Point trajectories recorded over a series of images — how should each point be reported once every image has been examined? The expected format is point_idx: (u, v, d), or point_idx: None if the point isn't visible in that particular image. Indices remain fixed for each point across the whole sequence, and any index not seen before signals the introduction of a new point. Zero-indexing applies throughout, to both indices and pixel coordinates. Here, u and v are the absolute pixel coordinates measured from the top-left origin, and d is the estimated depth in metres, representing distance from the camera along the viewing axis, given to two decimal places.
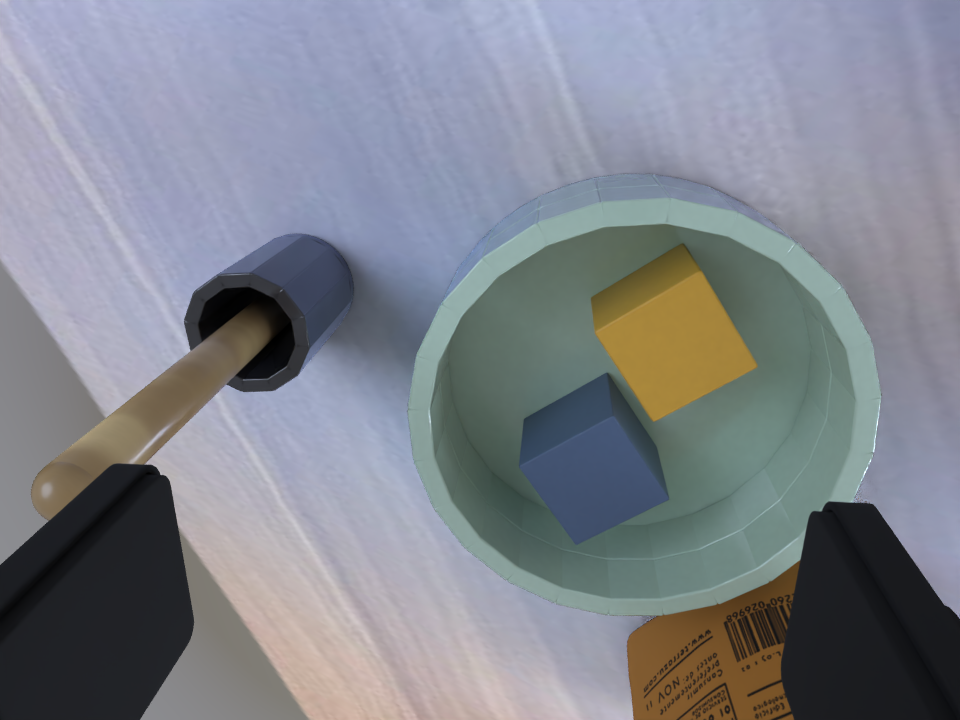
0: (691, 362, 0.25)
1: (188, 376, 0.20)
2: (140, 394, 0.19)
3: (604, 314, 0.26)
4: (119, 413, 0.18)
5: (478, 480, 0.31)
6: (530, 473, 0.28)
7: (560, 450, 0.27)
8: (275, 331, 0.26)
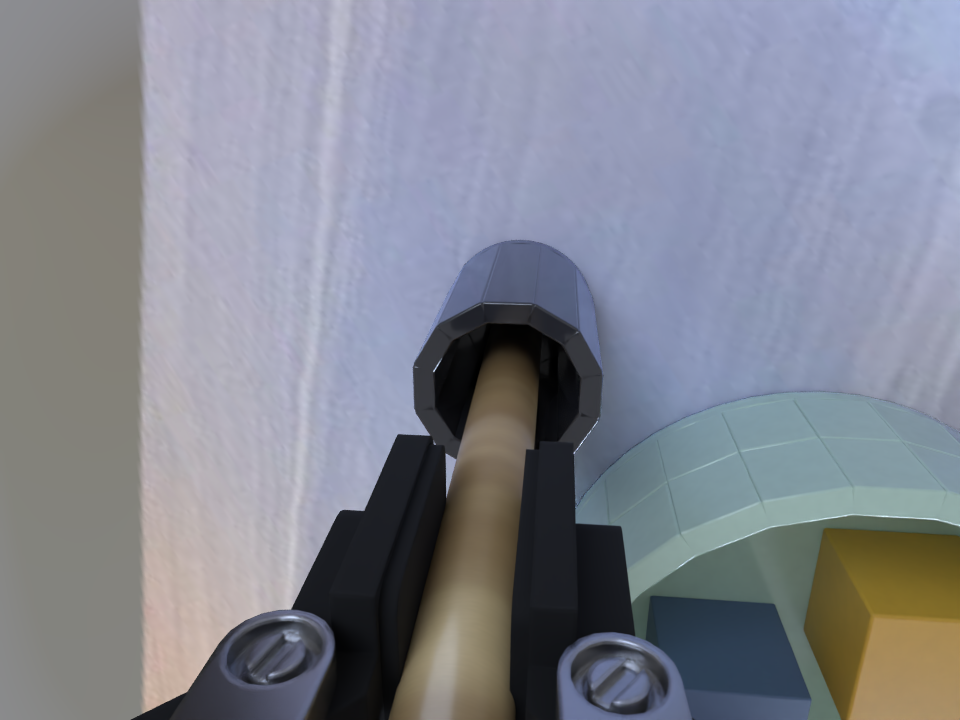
0: (937, 699, 0.20)
1: None
2: (495, 537, 0.11)
3: (873, 587, 0.21)
4: (493, 590, 0.10)
5: None
6: None
7: (725, 699, 0.21)
8: None
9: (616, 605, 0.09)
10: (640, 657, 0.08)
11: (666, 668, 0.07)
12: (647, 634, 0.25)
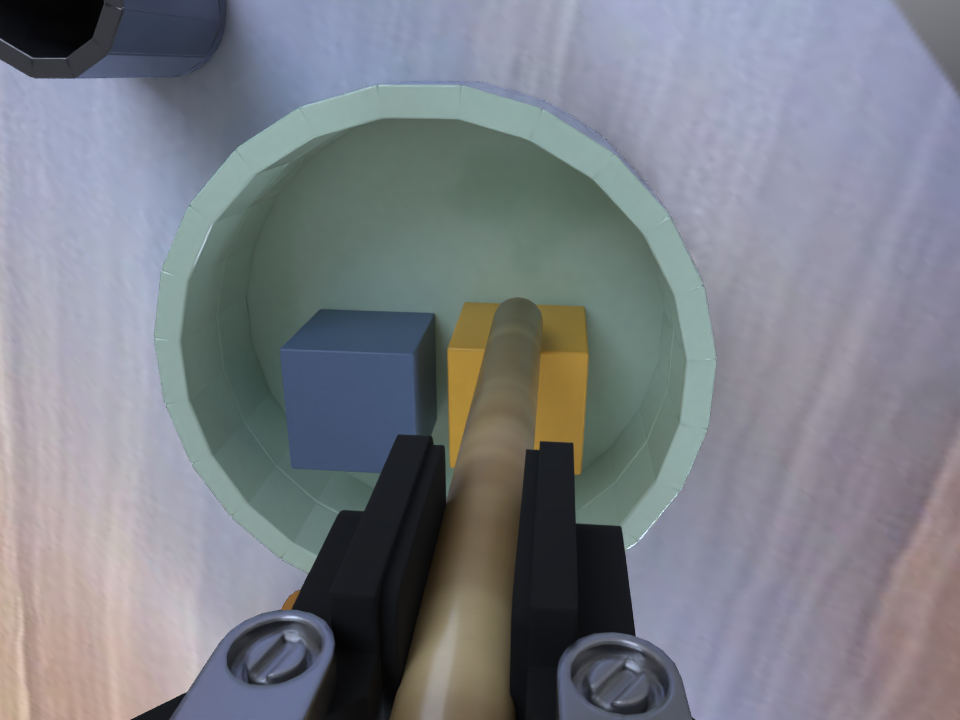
0: None
1: None
2: (495, 538, 0.11)
3: (467, 333, 0.22)
4: (493, 592, 0.10)
5: (229, 342, 0.25)
6: (288, 363, 0.22)
7: (335, 357, 0.22)
8: None
9: (616, 605, 0.09)
10: (640, 657, 0.08)
11: (666, 669, 0.07)
12: None
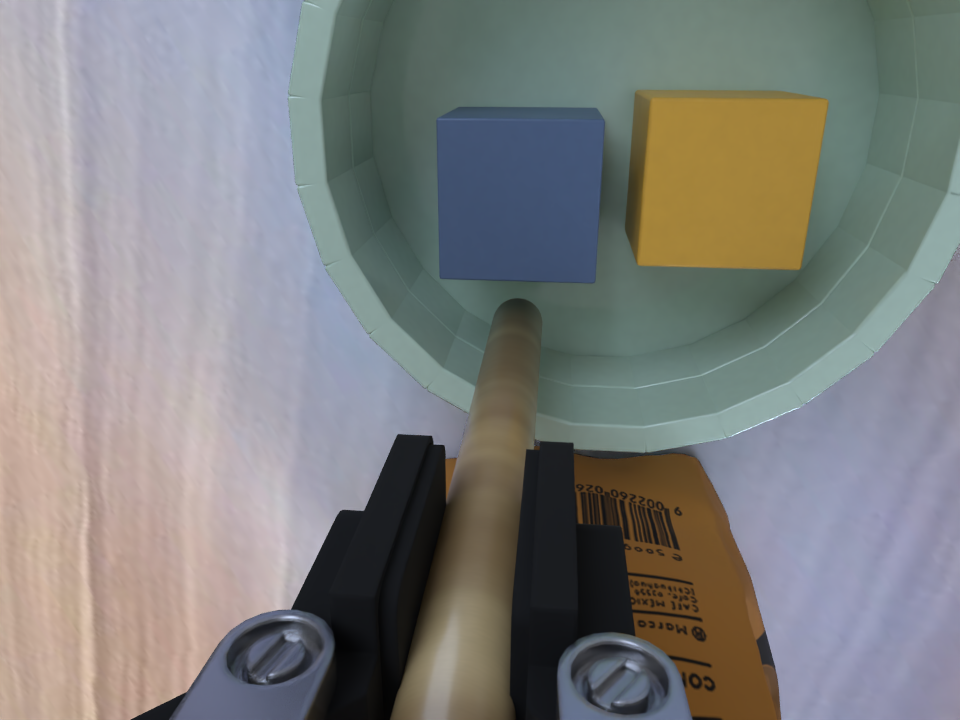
0: (733, 215, 0.18)
1: None
2: (495, 541, 0.11)
3: (665, 95, 0.18)
4: (493, 595, 0.10)
5: (357, 137, 0.21)
6: (446, 137, 0.18)
7: (506, 127, 0.18)
8: None
9: (616, 605, 0.09)
10: (640, 657, 0.08)
11: (666, 669, 0.07)
12: None
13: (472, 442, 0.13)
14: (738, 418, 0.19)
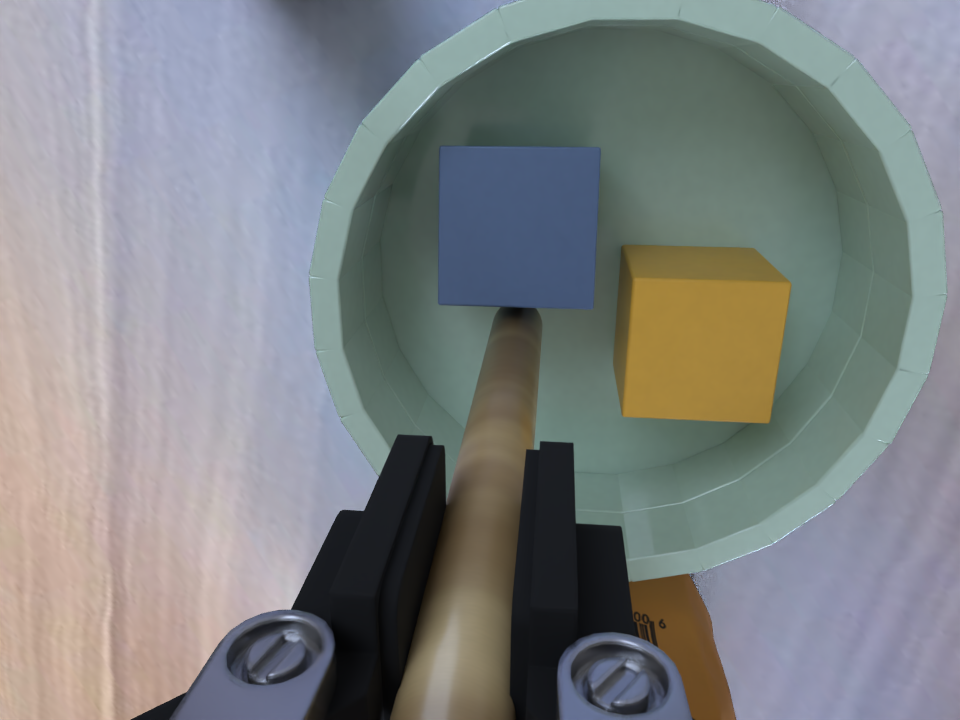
0: (708, 376, 0.20)
1: None
2: (495, 540, 0.11)
3: (646, 267, 0.20)
4: (493, 594, 0.10)
5: (369, 289, 0.23)
6: (448, 164, 0.19)
7: (505, 154, 0.19)
8: None
9: (616, 605, 0.09)
10: (640, 657, 0.08)
11: (666, 669, 0.07)
12: None
13: (472, 443, 0.14)
14: (714, 554, 0.21)
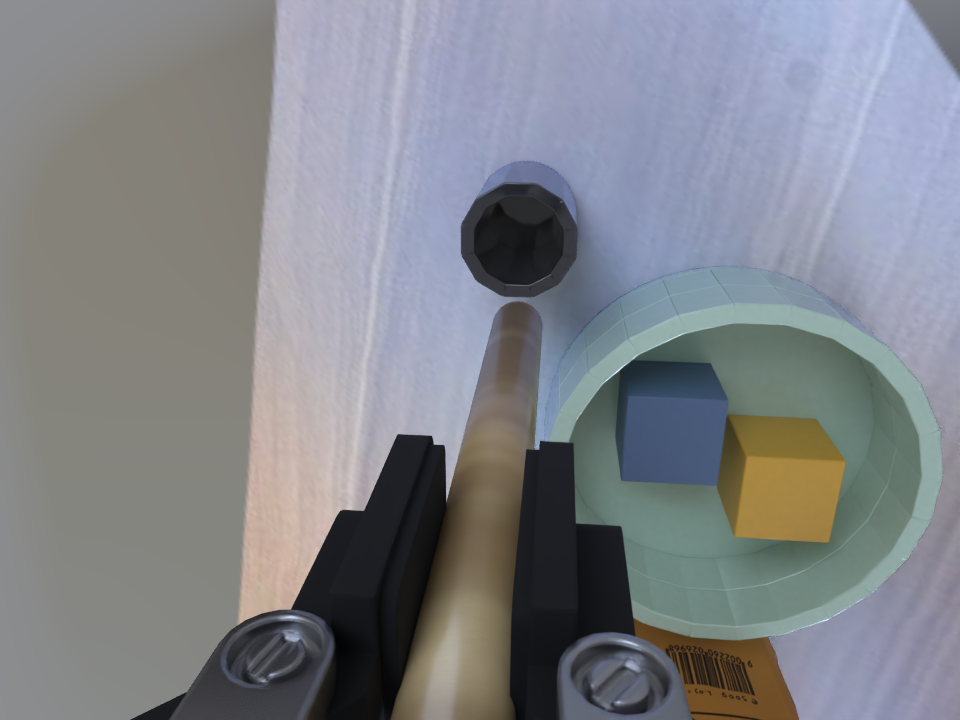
0: (791, 514, 0.32)
1: None
2: (495, 542, 0.11)
3: (751, 443, 0.32)
4: (493, 597, 0.10)
5: None
6: (633, 406, 0.31)
7: (669, 402, 0.31)
8: None
9: (616, 605, 0.09)
10: (640, 657, 0.08)
11: (666, 668, 0.07)
12: (619, 389, 0.35)
13: (472, 445, 0.14)
14: (792, 624, 0.33)
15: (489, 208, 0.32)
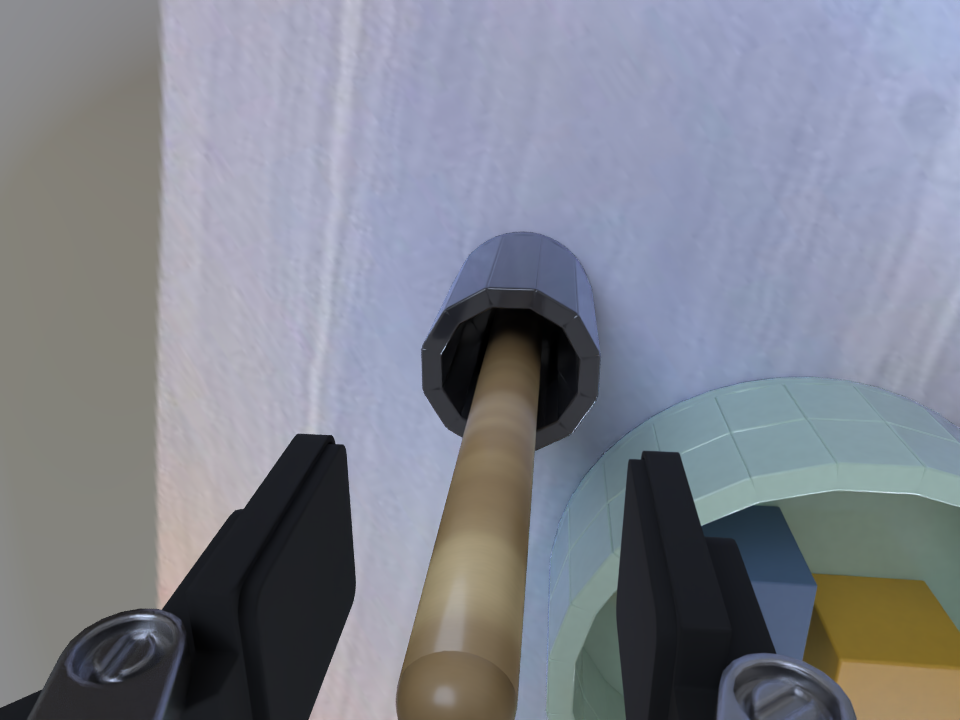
0: None
1: (530, 471, 0.13)
2: (501, 494, 0.12)
3: (843, 632, 0.23)
4: (500, 538, 0.11)
5: None
6: None
7: None
8: None
9: (749, 622, 0.09)
10: (812, 686, 0.07)
11: (839, 704, 0.07)
12: None
13: (479, 413, 0.14)
14: None
15: None
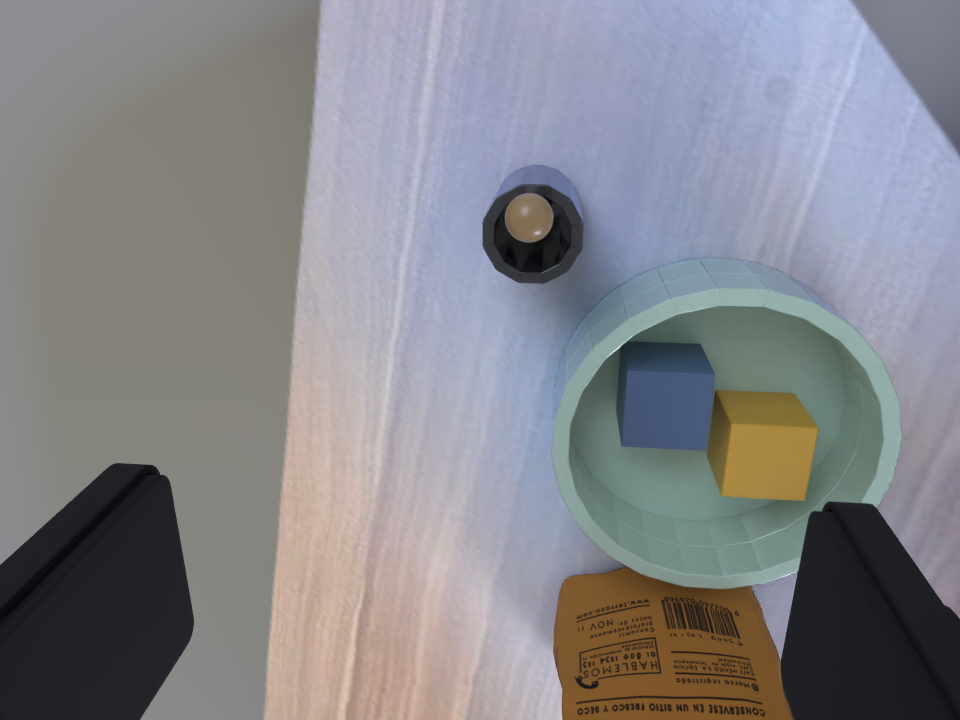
0: (771, 475, 0.36)
1: None
2: None
3: (736, 413, 0.36)
4: None
5: None
6: (631, 380, 0.35)
7: (663, 376, 0.35)
8: None
9: None
10: None
11: None
12: (619, 367, 0.39)
13: None
14: (772, 573, 0.37)
15: (504, 207, 0.37)
